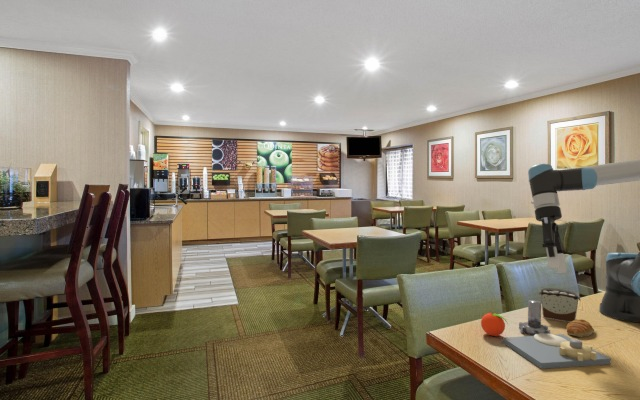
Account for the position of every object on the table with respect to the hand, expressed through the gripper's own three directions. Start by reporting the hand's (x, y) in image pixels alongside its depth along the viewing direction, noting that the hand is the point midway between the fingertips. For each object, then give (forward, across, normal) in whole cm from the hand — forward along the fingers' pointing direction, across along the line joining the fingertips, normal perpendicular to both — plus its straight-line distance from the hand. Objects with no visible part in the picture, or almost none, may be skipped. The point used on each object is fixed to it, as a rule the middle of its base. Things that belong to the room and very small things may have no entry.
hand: (558, 270), depth 115 cm
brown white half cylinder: (+14, -21, -6) cm, 26 cm away
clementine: (+20, +10, -19) cm, 30 cm away
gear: (+19, -1, -10) cm, 21 cm away
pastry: (+19, -10, +1) cm, 22 cm away
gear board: (+24, +12, -4) cm, 27 cm away
